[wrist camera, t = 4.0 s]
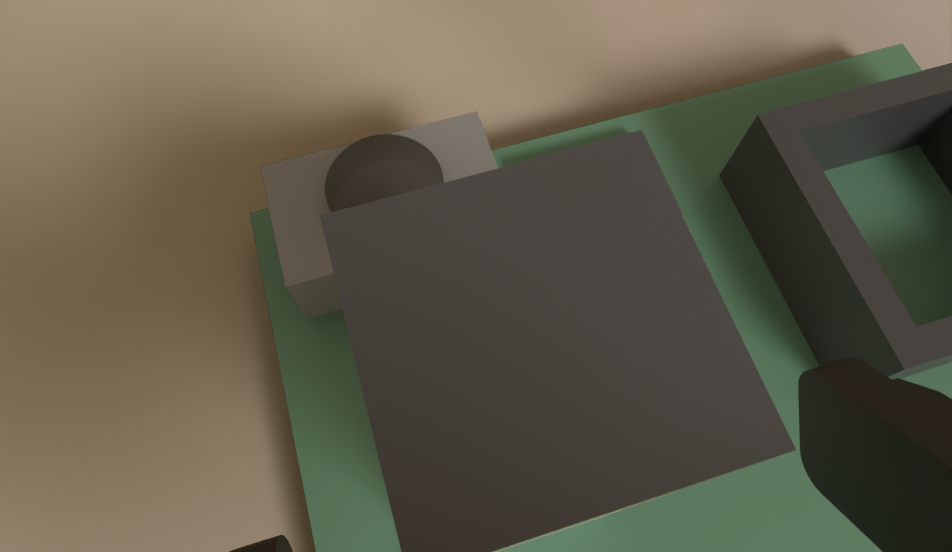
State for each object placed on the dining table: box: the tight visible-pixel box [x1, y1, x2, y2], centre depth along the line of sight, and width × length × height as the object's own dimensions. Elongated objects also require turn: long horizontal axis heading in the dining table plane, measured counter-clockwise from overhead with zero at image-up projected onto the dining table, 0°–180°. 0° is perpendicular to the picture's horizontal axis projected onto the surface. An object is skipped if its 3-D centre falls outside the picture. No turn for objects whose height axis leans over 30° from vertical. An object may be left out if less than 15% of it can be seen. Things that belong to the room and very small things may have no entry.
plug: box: [320, 131, 796, 552], centre depth 12 cm, size 4×4×11 cm
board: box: [250, 44, 952, 552], centre depth 17 cm, size 22×16×4 cm
